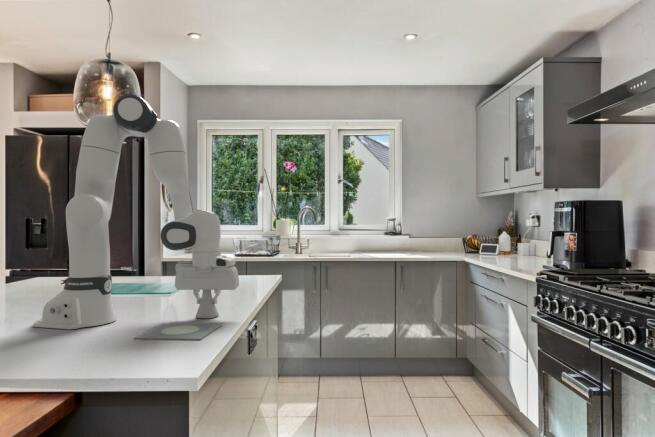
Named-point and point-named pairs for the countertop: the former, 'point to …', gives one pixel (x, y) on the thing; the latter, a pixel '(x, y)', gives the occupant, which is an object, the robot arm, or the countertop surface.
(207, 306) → the flask
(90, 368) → the countertop surface
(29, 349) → the countertop surface
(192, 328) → the card
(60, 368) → the countertop surface
